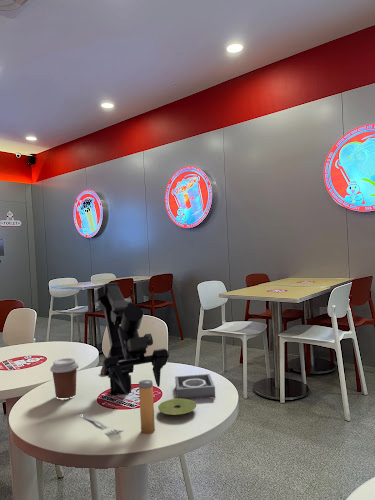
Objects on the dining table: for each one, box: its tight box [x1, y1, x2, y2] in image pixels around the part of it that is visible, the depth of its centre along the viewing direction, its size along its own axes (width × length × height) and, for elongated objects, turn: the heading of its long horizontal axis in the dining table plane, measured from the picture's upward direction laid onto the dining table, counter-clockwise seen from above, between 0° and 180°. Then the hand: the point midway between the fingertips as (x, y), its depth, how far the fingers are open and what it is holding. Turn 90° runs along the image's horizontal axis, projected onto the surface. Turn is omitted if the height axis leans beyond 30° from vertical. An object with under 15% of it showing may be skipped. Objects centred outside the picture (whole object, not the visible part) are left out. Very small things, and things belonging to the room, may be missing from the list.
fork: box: [81, 414, 124, 436], centre depth 108 cm, size 3×24×2 cm, turn 44°
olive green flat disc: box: [157, 398, 197, 416], centre depth 112 cm, size 11×11×2 cm
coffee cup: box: [49, 357, 79, 398], centre depth 128 cm, size 9×9×12 cm
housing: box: [174, 373, 216, 400], centre depth 127 cm, size 12×12×4 cm
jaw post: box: [138, 379, 156, 435], centre depth 102 cm, size 4×4×13 cm
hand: (142, 389), depth 104 cm, fingers open, 9 cm apart
